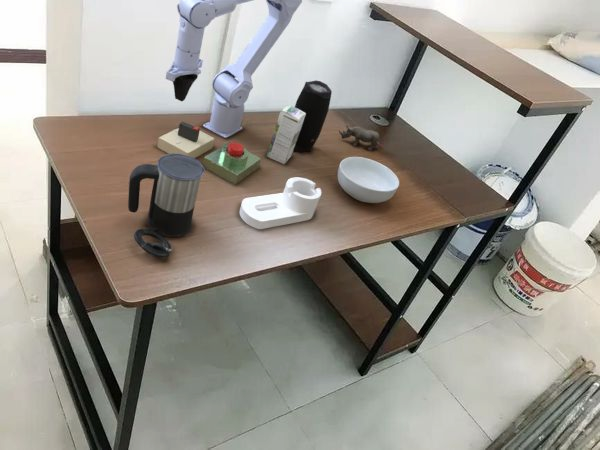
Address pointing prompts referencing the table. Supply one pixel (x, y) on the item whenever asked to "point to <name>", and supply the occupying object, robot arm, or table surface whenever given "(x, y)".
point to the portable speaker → (312, 113)
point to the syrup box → (286, 134)
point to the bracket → (282, 205)
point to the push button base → (231, 164)
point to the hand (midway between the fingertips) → (179, 99)
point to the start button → (235, 149)
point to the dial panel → (185, 144)
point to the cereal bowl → (367, 180)
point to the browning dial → (188, 131)
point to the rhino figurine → (361, 136)
